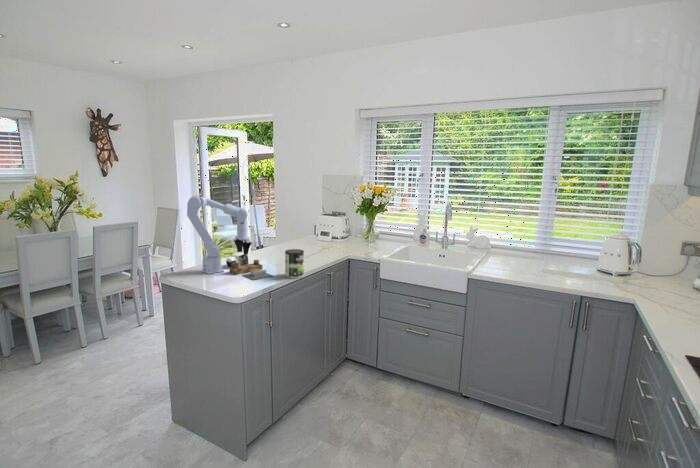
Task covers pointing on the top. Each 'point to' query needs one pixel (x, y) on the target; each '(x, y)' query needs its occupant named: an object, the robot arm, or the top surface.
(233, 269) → the board with knob
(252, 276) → the gray switch plate
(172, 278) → the top surface
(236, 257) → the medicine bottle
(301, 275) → the coffee can
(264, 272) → the lever cap
